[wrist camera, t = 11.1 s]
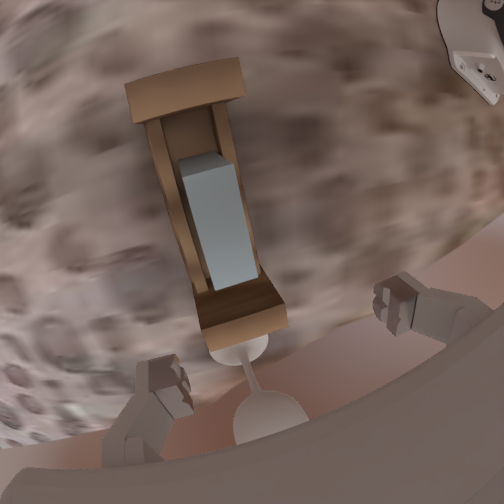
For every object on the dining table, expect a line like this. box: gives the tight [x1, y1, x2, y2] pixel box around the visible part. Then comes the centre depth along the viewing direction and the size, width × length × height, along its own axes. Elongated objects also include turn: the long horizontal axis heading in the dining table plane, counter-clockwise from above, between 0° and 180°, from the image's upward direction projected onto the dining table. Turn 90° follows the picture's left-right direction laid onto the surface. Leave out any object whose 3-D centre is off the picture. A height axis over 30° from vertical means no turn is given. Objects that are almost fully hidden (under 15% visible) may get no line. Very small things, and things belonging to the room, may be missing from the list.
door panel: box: [178, 151, 258, 291], centre depth 25 cm, size 9×4×10 cm, turn 12°
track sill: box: [124, 57, 289, 352], centre depth 27 cm, size 24×8×10 cm, turn 12°
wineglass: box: [209, 334, 309, 445], centre depth 32 cm, size 9×9×21 cm
